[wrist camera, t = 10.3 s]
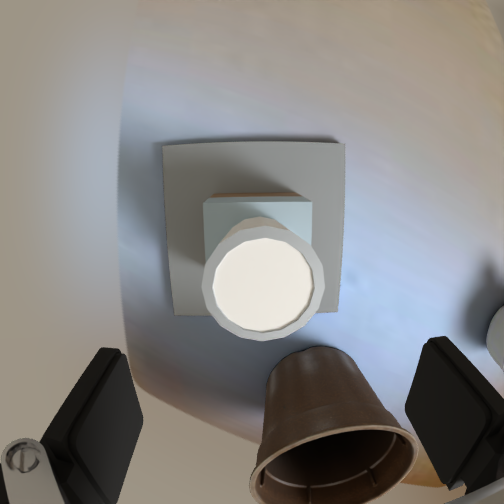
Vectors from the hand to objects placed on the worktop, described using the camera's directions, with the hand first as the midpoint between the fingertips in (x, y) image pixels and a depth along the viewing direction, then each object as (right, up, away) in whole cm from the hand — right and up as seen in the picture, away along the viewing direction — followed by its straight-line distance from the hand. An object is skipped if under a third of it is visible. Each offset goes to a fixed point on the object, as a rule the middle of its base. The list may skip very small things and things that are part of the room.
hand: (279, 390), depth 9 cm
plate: (0, +6, +24) cm, 25 cm away
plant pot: (+7, -13, +30) cm, 33 cm away
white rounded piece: (0, +4, +15) cm, 16 cm away
